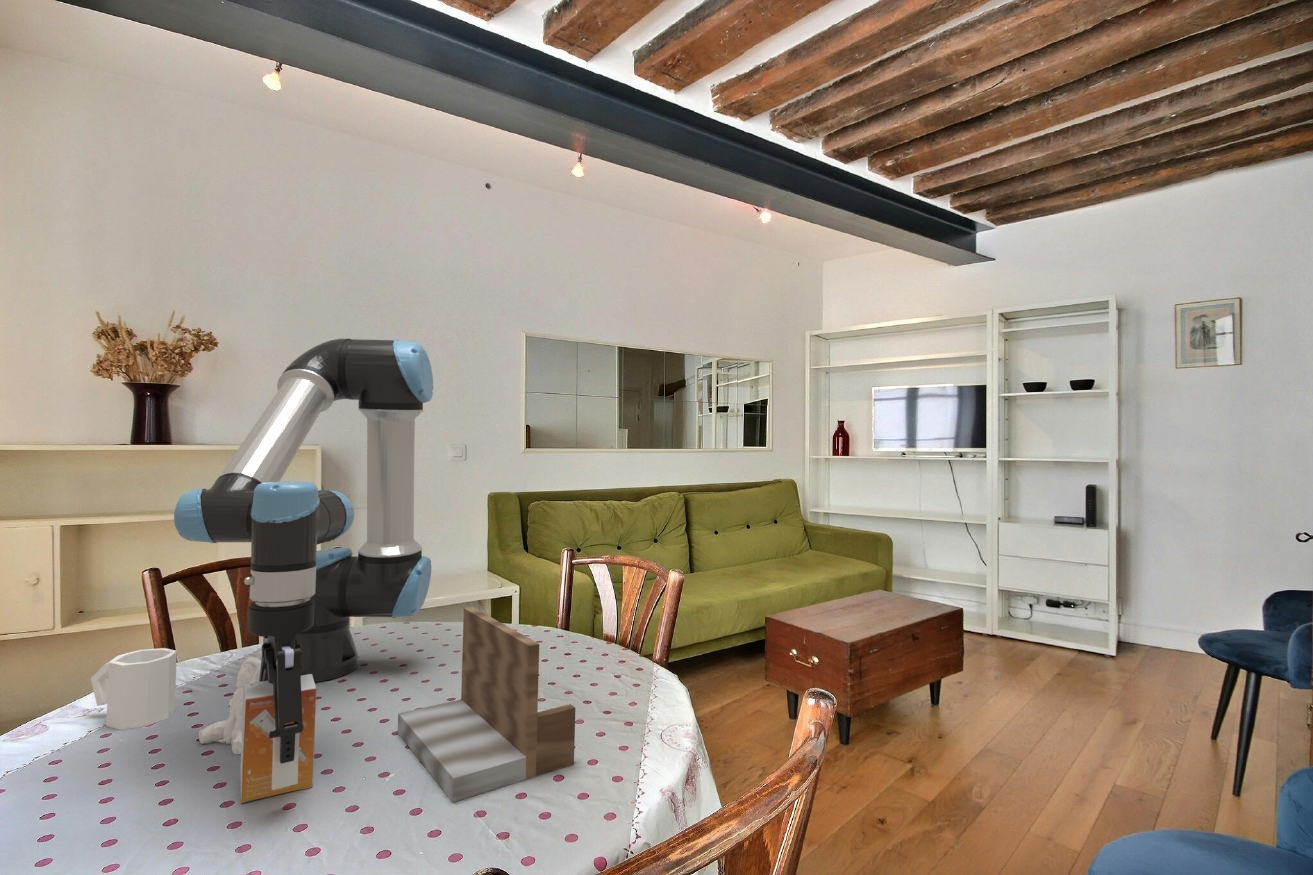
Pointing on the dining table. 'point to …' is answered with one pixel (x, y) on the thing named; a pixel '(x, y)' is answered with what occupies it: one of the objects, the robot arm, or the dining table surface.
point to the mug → (137, 688)
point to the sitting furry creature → (233, 710)
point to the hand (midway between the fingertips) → (276, 764)
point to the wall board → (491, 717)
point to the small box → (260, 747)
